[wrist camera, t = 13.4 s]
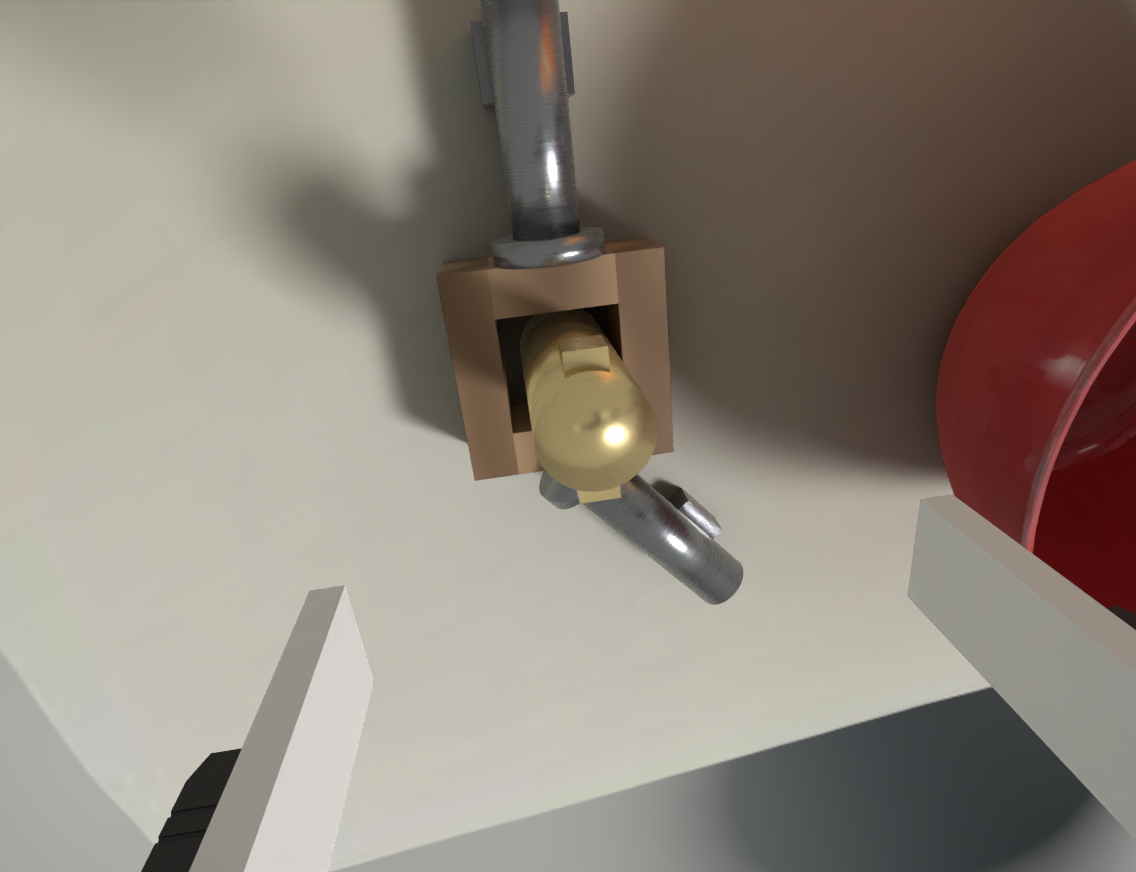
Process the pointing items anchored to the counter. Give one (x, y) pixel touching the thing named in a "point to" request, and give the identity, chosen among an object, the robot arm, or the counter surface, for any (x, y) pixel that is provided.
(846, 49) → the counter surface
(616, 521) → the shaft
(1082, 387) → the mixing bowl
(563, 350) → the joint pin
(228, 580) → the counter surface
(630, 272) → the coupling block
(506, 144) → the shaft
